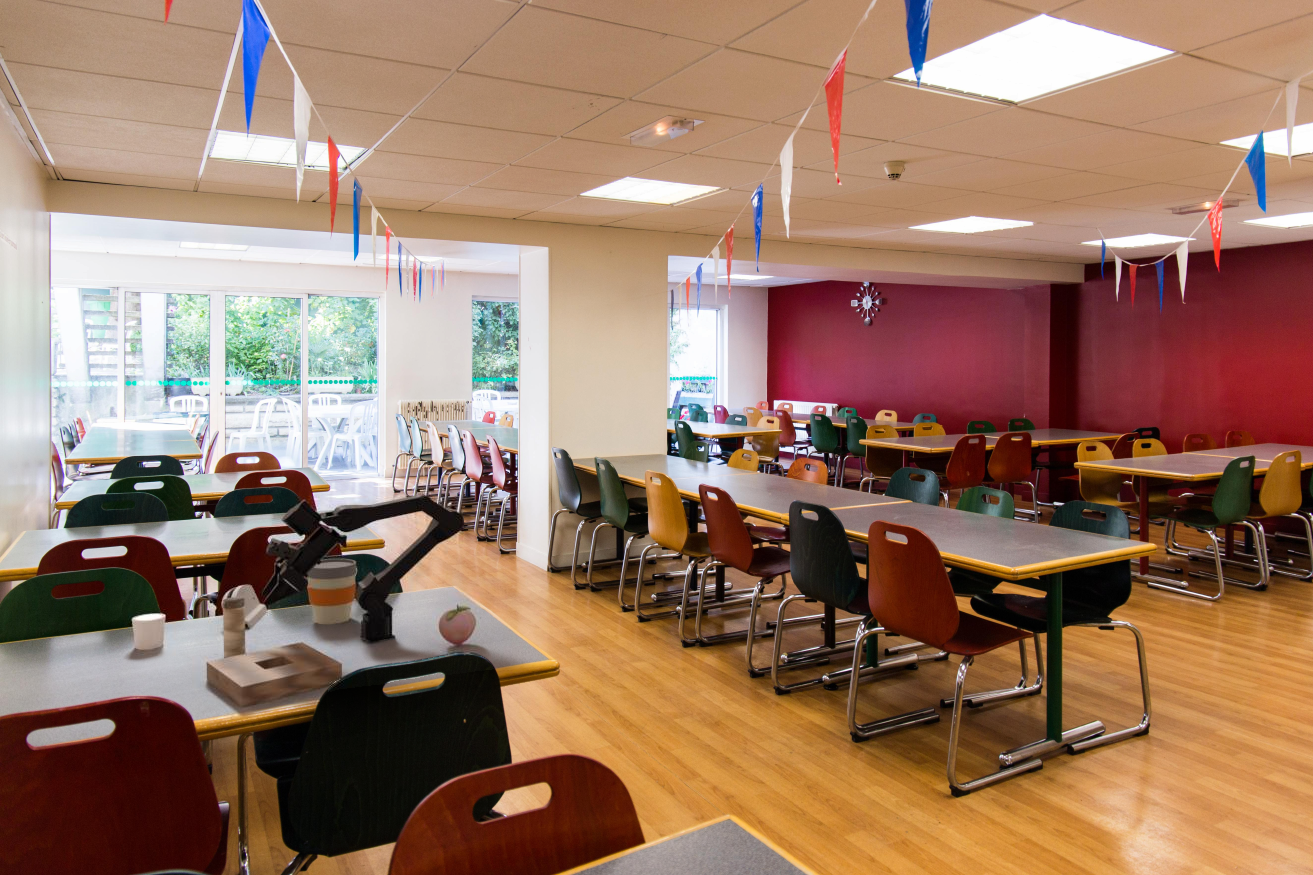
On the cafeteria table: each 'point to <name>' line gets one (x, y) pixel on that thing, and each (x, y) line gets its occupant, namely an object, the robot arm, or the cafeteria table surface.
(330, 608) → the reusable coffee cup
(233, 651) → the beech pin
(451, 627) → the decorative fruit
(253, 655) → the socket block
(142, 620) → the white short cylinder
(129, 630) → the cafeteria table surface
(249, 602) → the hinge
